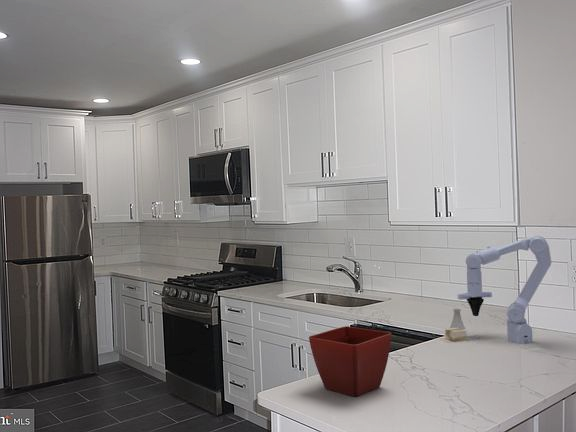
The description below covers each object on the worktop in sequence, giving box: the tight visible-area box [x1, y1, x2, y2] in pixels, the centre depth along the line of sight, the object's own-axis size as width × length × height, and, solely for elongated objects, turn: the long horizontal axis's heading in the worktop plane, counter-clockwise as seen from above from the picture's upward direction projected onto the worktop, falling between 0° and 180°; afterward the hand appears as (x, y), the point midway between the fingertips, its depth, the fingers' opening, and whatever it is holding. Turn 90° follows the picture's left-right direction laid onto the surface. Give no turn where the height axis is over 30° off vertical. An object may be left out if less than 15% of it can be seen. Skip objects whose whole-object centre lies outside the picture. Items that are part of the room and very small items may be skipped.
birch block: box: [444, 327, 467, 343], centre depth 220 cm, size 6×6×4 cm
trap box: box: [439, 334, 489, 343], centre depth 221 cm, size 7×18×2 cm, turn 102°
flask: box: [449, 308, 466, 330], centre depth 240 cm, size 7×7×10 cm
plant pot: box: [308, 325, 392, 397], centre depth 169 cm, size 19×19×17 cm
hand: (475, 315), depth 222 cm, fingers closed
